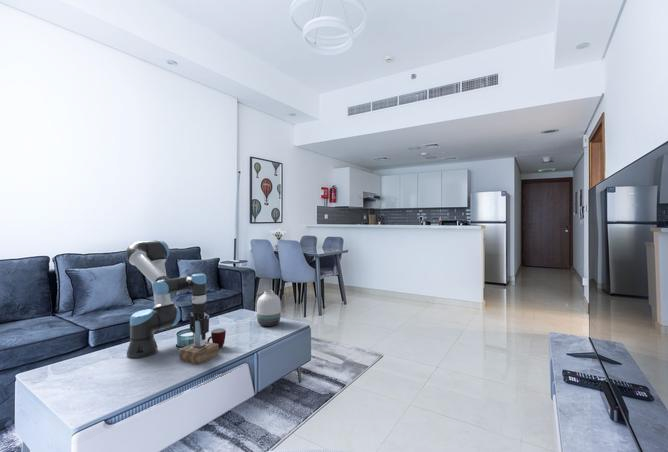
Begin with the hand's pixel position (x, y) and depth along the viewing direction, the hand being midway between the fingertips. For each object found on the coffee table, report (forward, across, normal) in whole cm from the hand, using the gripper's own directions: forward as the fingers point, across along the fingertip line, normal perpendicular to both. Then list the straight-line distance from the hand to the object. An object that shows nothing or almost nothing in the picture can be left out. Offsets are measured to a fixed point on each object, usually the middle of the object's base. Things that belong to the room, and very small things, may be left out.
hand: (199, 344), depth 177 cm
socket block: (+7, 0, 0) cm, 7 cm away
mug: (+7, -1, +14) cm, 16 cm away
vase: (+7, +2, +63) cm, 63 cm away
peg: (+3, 0, 0) cm, 3 cm away
